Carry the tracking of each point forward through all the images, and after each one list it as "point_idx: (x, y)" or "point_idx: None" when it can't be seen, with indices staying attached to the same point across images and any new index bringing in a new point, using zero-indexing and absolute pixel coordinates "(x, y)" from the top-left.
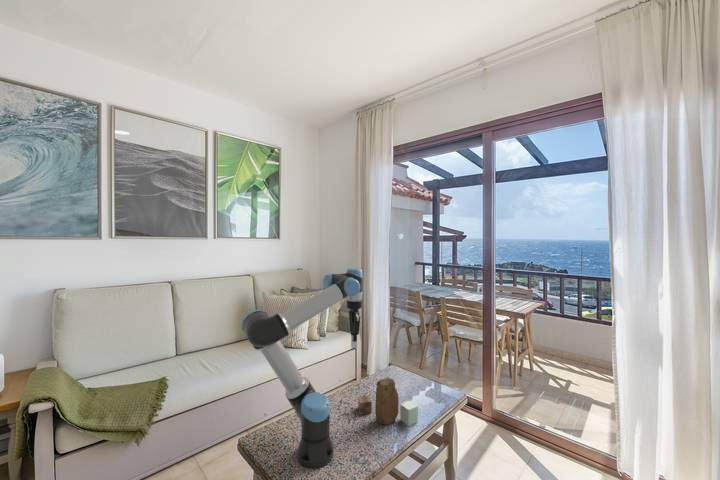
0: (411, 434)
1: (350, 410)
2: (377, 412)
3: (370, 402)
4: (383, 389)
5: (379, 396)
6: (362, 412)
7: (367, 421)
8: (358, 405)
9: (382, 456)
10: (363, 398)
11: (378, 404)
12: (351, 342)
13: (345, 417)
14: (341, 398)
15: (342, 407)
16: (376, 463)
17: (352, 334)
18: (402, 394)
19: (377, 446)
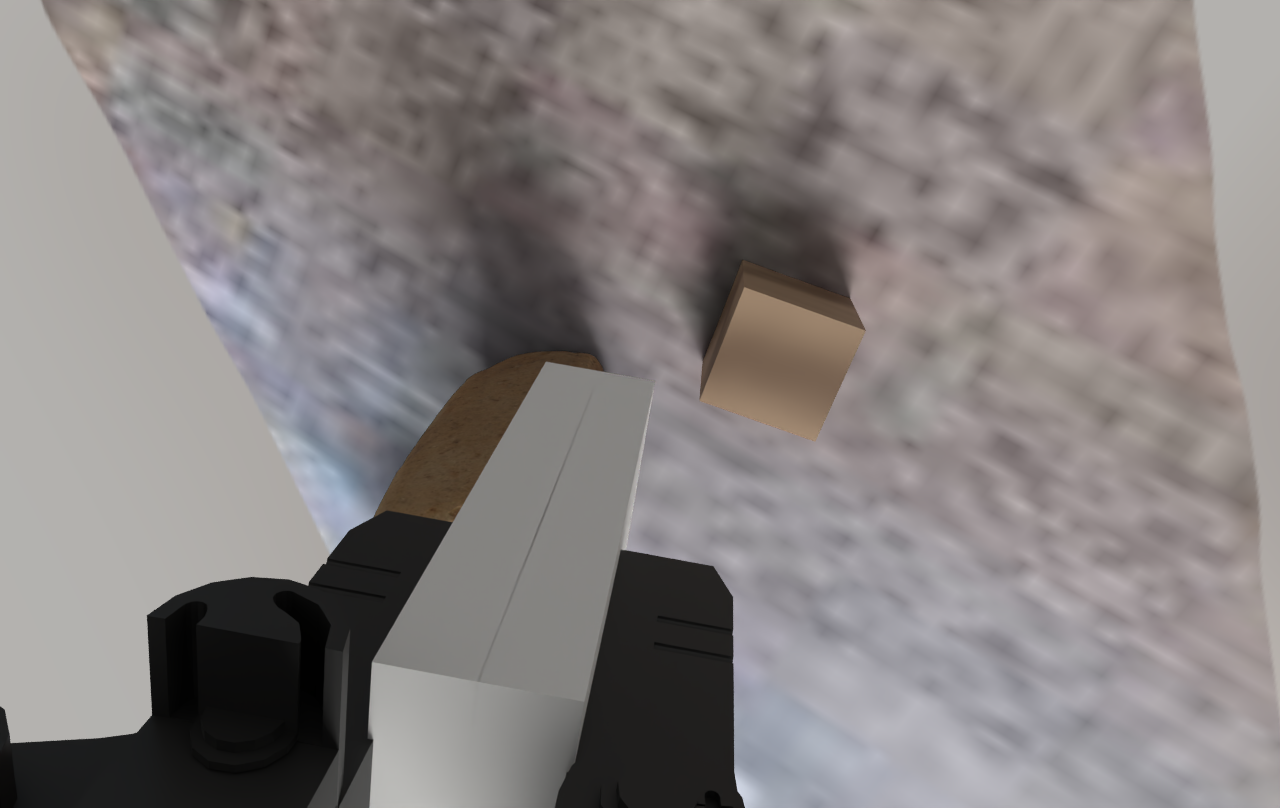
0: (321, 489)
1: (845, 202)
2: (539, 368)
3: (702, 388)
4: (381, 504)
5: (470, 441)
6: (734, 286)
7: (608, 268)
8: (848, 302)
9: (167, 158)
10: (800, 359)
11: (505, 401)
12: (566, 447)
13: (762, 102)
14: (1104, 212)
15: (939, 148)
16: (111, 75)
17: (153, 680)
18: (821, 738)
19: (280, 181)
